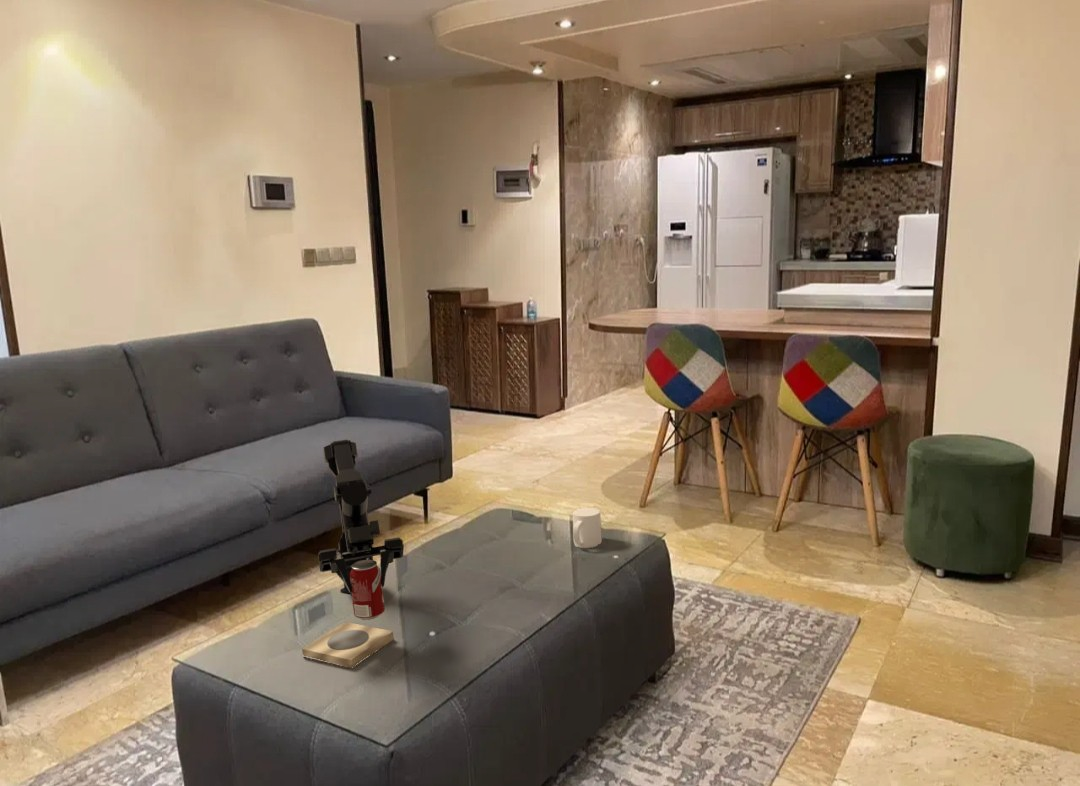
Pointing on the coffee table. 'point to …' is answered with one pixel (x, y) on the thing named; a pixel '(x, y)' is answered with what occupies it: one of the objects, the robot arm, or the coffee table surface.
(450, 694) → the coffee table surface
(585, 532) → the mug
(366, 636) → the base slab
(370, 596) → the soda can
